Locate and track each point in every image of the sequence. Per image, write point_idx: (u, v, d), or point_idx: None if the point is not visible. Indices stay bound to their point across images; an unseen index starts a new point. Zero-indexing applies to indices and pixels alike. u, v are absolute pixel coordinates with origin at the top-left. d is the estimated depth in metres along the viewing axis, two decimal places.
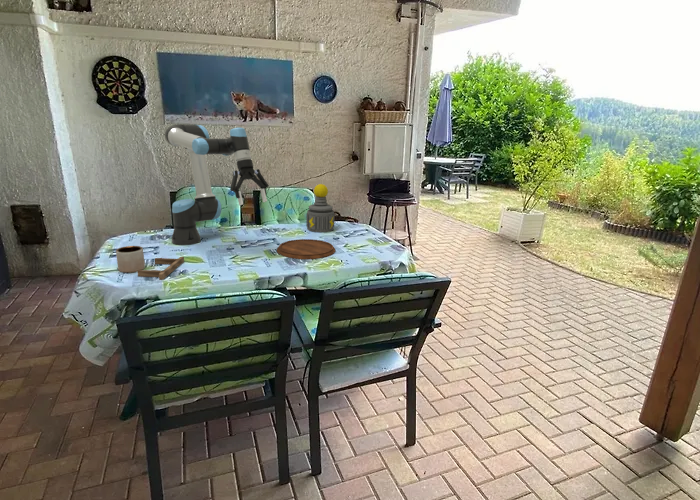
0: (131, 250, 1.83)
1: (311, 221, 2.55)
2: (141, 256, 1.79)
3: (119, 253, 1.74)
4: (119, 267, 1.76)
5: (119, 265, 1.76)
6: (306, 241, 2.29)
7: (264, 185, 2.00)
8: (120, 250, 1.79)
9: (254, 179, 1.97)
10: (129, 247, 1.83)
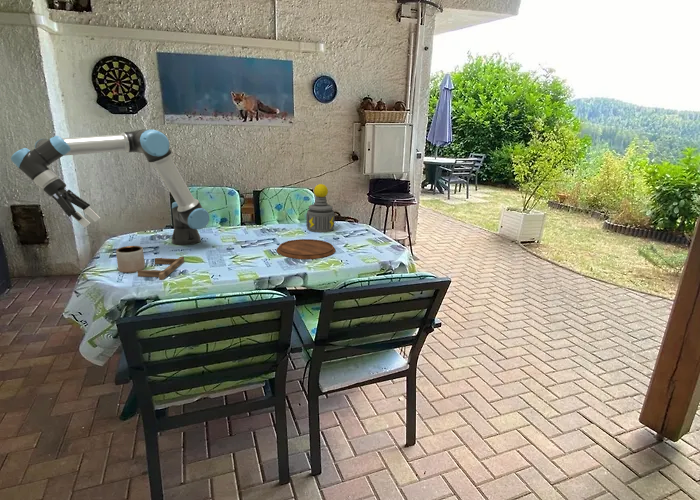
0: (131, 250, 1.83)
1: (311, 221, 2.55)
2: (141, 256, 1.79)
3: (119, 253, 1.74)
4: (119, 267, 1.76)
5: (119, 265, 1.76)
6: (306, 241, 2.29)
7: None
8: (120, 250, 1.79)
9: None
10: (129, 247, 1.83)
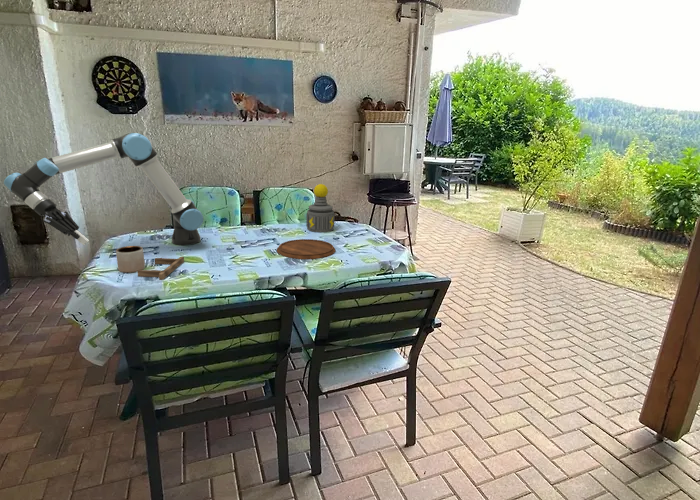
0: (131, 250, 1.83)
1: (311, 221, 2.55)
2: (141, 256, 1.79)
3: (119, 253, 1.74)
4: (119, 267, 1.76)
5: (119, 265, 1.76)
6: (306, 241, 2.29)
7: None
8: (120, 250, 1.79)
9: None
10: (129, 247, 1.83)
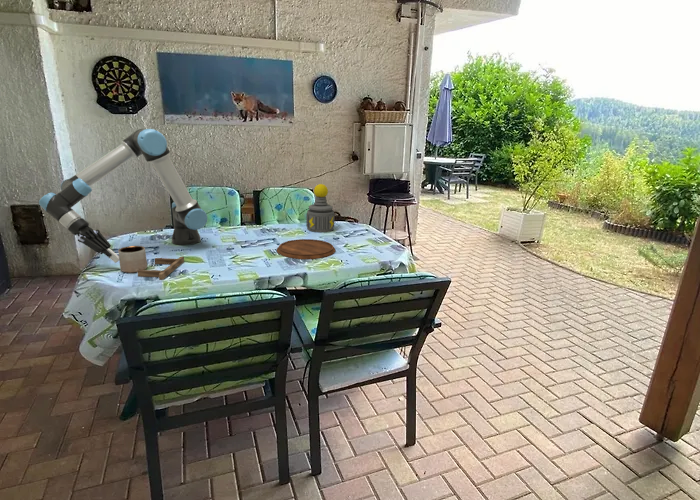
0: (133, 250, 1.83)
1: (311, 221, 2.55)
2: (143, 256, 1.79)
3: (121, 253, 1.74)
4: (121, 267, 1.76)
5: (121, 265, 1.76)
6: (306, 241, 2.29)
7: None
8: (122, 250, 1.79)
9: None
10: (131, 247, 1.82)
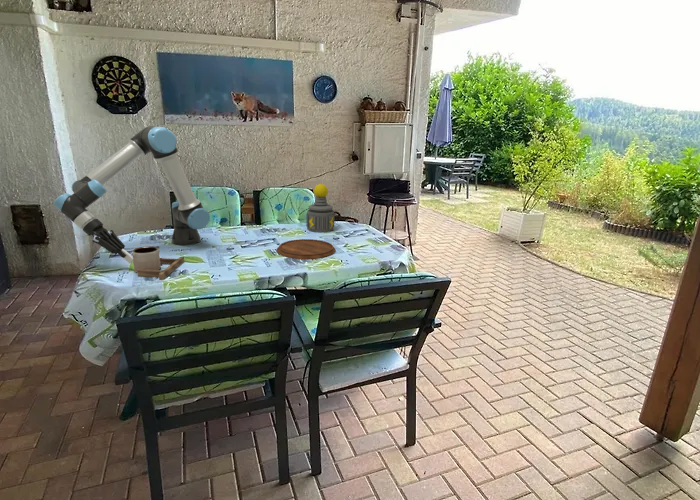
0: (147, 251, 1.83)
1: (311, 221, 2.55)
2: (157, 257, 1.79)
3: (135, 254, 1.74)
4: (135, 268, 1.76)
5: (135, 266, 1.76)
6: (306, 241, 2.29)
7: None
8: (136, 251, 1.79)
9: None
10: (145, 248, 1.82)
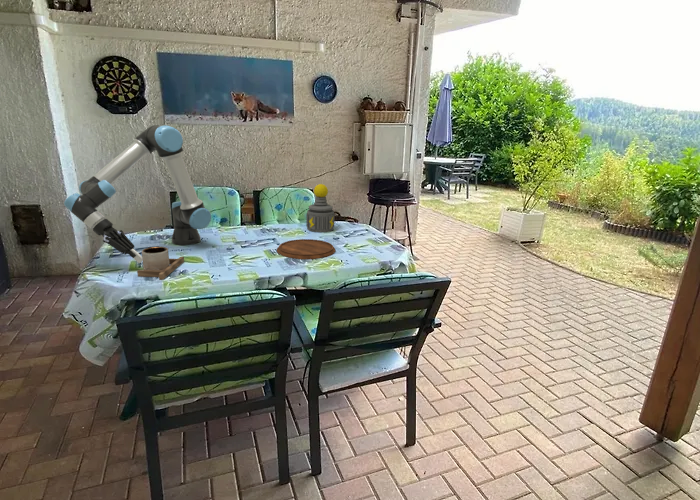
0: (156, 251, 1.83)
1: (311, 221, 2.55)
2: (166, 257, 1.79)
3: (145, 254, 1.74)
4: (144, 268, 1.77)
5: (144, 266, 1.76)
6: (306, 241, 2.29)
7: None
8: (146, 251, 1.79)
9: None
10: (155, 248, 1.83)
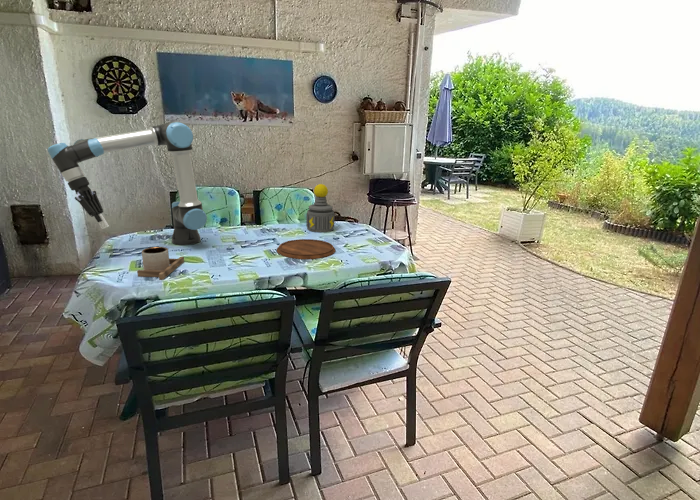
0: (156, 251, 1.83)
1: (311, 221, 2.55)
2: (166, 257, 1.79)
3: (145, 254, 1.74)
4: (144, 268, 1.77)
5: (144, 266, 1.76)
6: (306, 241, 2.29)
7: None
8: (146, 251, 1.79)
9: None
10: (155, 248, 1.83)
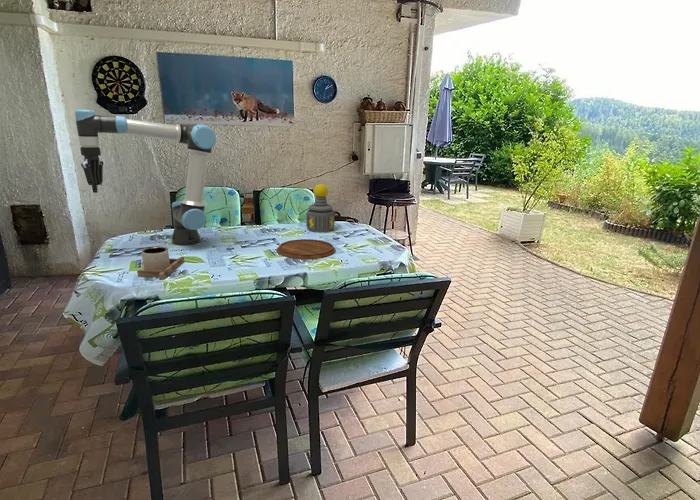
0: (156, 251, 1.83)
1: (311, 221, 2.55)
2: (166, 257, 1.79)
3: (145, 254, 1.74)
4: (144, 268, 1.77)
5: (144, 266, 1.76)
6: (306, 241, 2.29)
7: None
8: (146, 251, 1.79)
9: None
10: (155, 248, 1.83)
